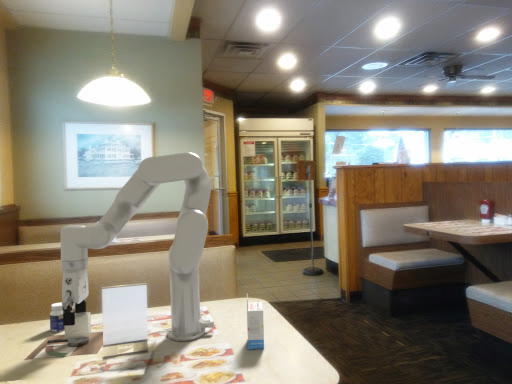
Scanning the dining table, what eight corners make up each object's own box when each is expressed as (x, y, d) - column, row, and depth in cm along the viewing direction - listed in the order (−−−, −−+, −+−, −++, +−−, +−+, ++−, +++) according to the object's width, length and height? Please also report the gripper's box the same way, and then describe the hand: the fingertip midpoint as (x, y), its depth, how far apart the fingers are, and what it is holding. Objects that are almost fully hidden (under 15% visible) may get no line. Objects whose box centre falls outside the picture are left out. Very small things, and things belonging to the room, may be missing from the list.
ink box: (264, 349, 110) (263, 300, 109) (248, 350, 110) (246, 300, 109) (263, 337, 118) (261, 291, 118) (247, 338, 118) (246, 292, 118)
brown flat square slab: (112, 334, 125) (112, 330, 125) (96, 358, 107) (96, 353, 107) (50, 339, 122) (49, 334, 122) (23, 364, 105) (23, 359, 105)
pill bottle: (61, 336, 124) (59, 307, 124) (46, 335, 125) (45, 306, 125) (72, 329, 130) (71, 301, 130) (58, 328, 131) (57, 301, 131)
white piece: (93, 337, 119) (92, 310, 118) (87, 345, 113) (85, 316, 112) (52, 340, 117) (51, 312, 117) (43, 349, 111) (42, 319, 111)
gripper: (77, 270, 106) (77, 329, 107) (95, 259, 124) (96, 309, 124) (49, 271, 105) (50, 330, 106) (72, 259, 123) (72, 310, 123)
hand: (75, 319), depth 115 cm, fingers open, 9 cm apart
